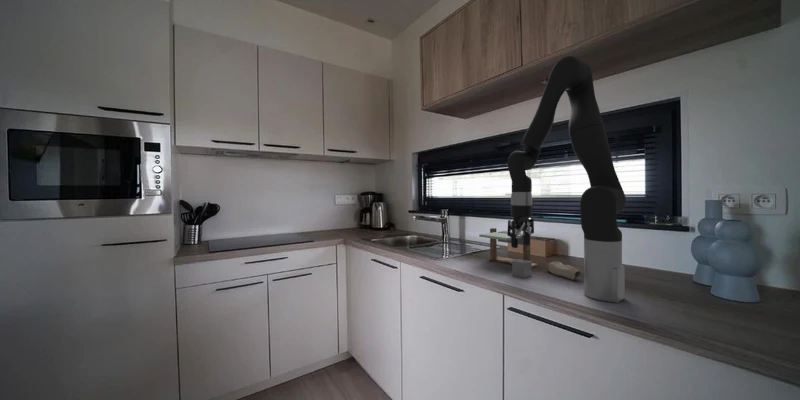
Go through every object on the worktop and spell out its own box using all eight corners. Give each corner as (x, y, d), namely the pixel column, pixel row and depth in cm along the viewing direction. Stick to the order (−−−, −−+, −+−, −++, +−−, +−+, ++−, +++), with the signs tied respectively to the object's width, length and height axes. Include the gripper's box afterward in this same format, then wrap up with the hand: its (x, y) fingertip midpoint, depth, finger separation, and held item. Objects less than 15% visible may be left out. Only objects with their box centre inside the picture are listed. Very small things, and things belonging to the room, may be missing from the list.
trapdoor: (531, 243, 123) (531, 233, 122) (507, 249, 112) (507, 238, 112) (503, 240, 134) (503, 230, 133) (479, 244, 123) (479, 234, 123)
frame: (537, 265, 121) (537, 231, 120) (528, 268, 116) (528, 232, 116) (498, 258, 136) (498, 227, 136) (489, 260, 132) (489, 228, 131)
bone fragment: (544, 271, 113) (544, 259, 113) (560, 270, 113) (560, 259, 113) (566, 281, 99) (566, 268, 99) (583, 281, 100) (584, 268, 100)
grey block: (531, 275, 107) (531, 261, 106) (524, 278, 104) (524, 263, 104) (519, 272, 111) (519, 259, 111) (512, 275, 108) (512, 260, 108)
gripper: (520, 205, 99) (519, 250, 100) (540, 203, 108) (540, 245, 108) (501, 204, 105) (501, 247, 106) (522, 203, 114) (522, 242, 114)
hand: (520, 246), depth 107 cm, fingers open, 8 cm apart
